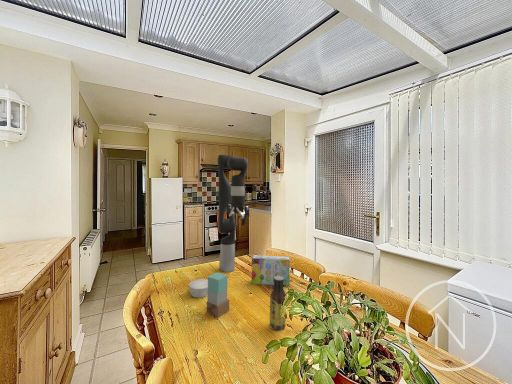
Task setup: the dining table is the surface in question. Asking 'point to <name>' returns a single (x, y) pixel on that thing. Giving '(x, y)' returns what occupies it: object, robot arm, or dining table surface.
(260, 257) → the snack box
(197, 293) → the ramekin
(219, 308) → the tower base
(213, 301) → the block
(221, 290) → the teal cube
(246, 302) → the dining table surface
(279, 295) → the sauce bottle
